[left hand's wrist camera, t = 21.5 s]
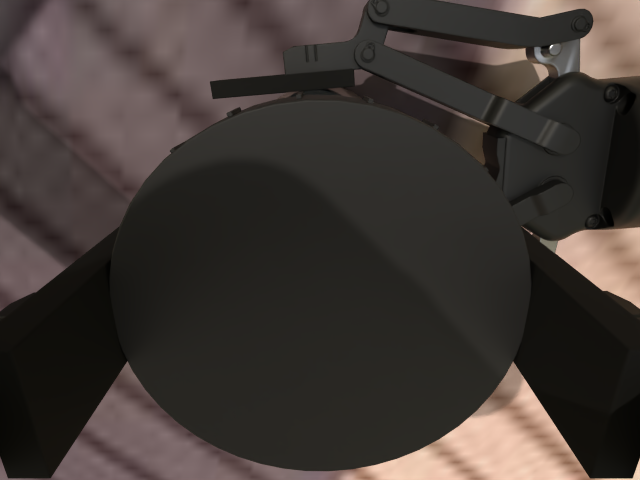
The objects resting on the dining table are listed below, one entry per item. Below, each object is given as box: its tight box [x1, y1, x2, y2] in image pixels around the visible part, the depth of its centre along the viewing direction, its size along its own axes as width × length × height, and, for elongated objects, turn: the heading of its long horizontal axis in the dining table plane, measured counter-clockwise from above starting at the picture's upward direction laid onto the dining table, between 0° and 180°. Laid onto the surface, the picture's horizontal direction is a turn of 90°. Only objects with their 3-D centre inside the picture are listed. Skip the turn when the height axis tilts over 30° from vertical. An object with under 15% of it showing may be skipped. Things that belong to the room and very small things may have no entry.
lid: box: [109, 92, 532, 471], centre depth 11 cm, size 10×10×2 cm
